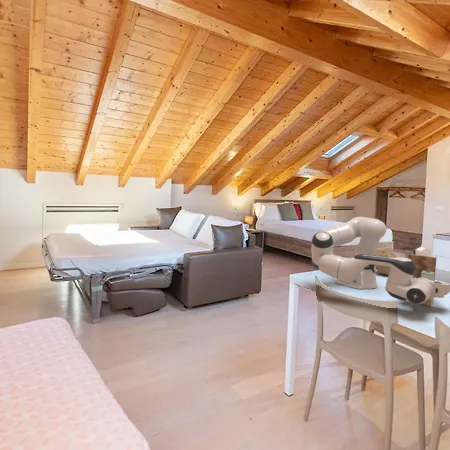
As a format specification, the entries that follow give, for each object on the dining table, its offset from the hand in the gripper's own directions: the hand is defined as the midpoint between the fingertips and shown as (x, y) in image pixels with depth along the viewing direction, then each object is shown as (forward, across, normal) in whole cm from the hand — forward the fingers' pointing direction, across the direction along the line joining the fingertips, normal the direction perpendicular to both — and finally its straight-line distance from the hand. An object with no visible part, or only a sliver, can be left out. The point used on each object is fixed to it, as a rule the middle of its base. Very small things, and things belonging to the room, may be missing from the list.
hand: (427, 280), depth 169 cm
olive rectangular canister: (-1, 0, -8) cm, 8 cm away
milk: (+38, -8, -11) cm, 40 cm away
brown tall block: (+2, -3, -11) cm, 11 cm away
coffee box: (+54, -17, -11) cm, 57 cm away
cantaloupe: (+41, -28, -11) cm, 51 cm away
